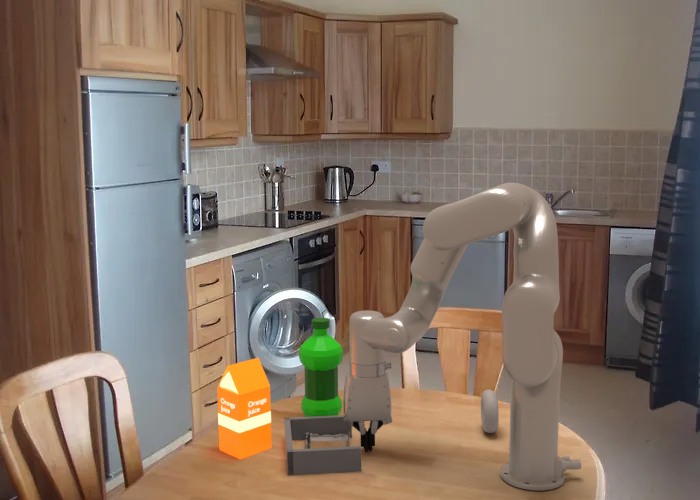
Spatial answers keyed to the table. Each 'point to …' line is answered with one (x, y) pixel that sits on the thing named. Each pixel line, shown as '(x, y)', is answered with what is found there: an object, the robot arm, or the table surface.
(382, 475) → the table surface
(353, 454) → the tray
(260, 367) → the orange juice
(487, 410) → the donut
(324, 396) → the plastic bottle
